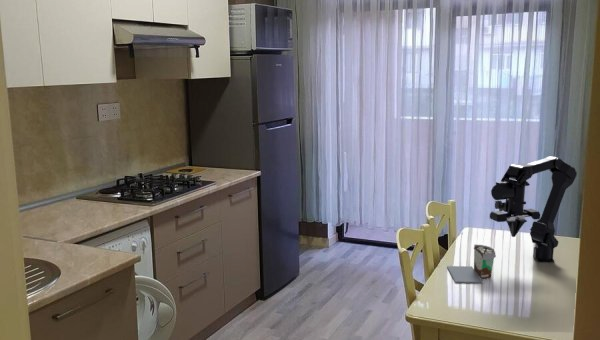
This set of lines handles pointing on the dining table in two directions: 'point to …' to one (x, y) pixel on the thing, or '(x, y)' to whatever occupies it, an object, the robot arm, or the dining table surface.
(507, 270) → the dining table surface
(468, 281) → the grey rubber mat
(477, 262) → the food container
